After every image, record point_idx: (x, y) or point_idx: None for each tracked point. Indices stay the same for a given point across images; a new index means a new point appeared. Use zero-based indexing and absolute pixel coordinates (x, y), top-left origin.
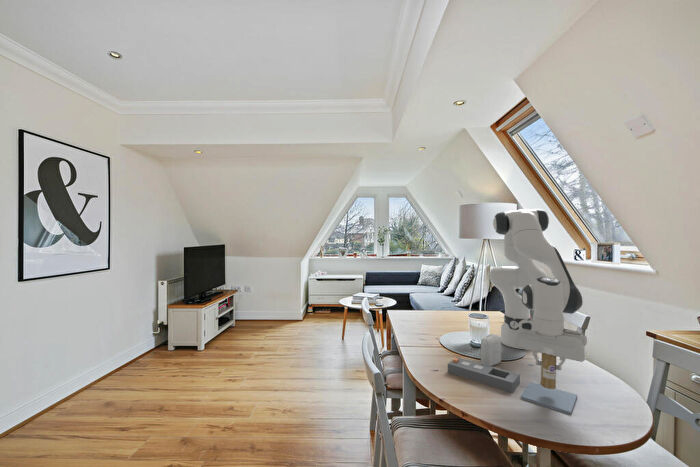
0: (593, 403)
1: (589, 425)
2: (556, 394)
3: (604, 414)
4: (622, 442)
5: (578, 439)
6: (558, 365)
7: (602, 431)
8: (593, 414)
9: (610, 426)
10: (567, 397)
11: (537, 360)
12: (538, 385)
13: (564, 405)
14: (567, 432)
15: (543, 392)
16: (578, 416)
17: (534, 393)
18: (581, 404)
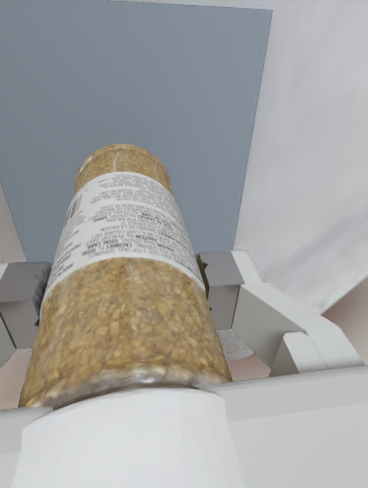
0: (342, 45)
1: (280, 270)
2: (159, 114)
3: (356, 150)
4: (346, 292)
5: (244, 345)
6: (229, 325)
7: (311, 277)
8: (310, 183)
9: (345, 232)
10: (217, 112)
11: (10, 345)
12: (22, 38)
13: (208, 216)
14: (220, 337)
15: (93, 143)
16: (253, 239)
17: (61, 191)
18: (277, 113)
